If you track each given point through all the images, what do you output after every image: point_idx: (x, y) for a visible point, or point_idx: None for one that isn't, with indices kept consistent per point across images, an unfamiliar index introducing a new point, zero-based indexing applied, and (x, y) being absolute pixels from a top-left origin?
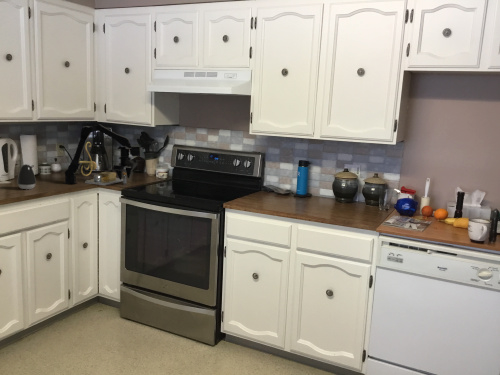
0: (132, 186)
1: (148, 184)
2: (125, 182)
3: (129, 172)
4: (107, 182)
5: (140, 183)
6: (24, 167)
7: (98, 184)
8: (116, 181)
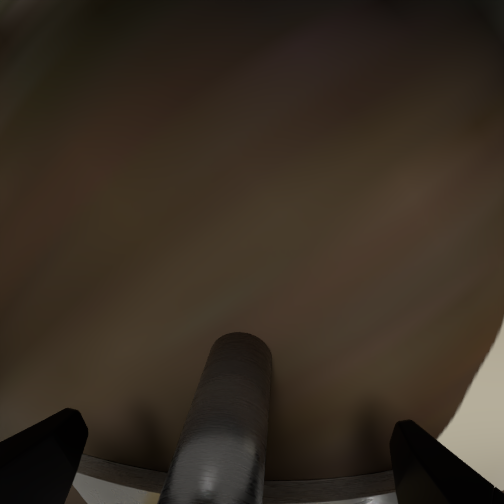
0: (343, 97)
1: (10, 49)
2: (249, 360)
3: (4, 488)
4: None
5: (7, 196)
6: None
7: None
8: None
